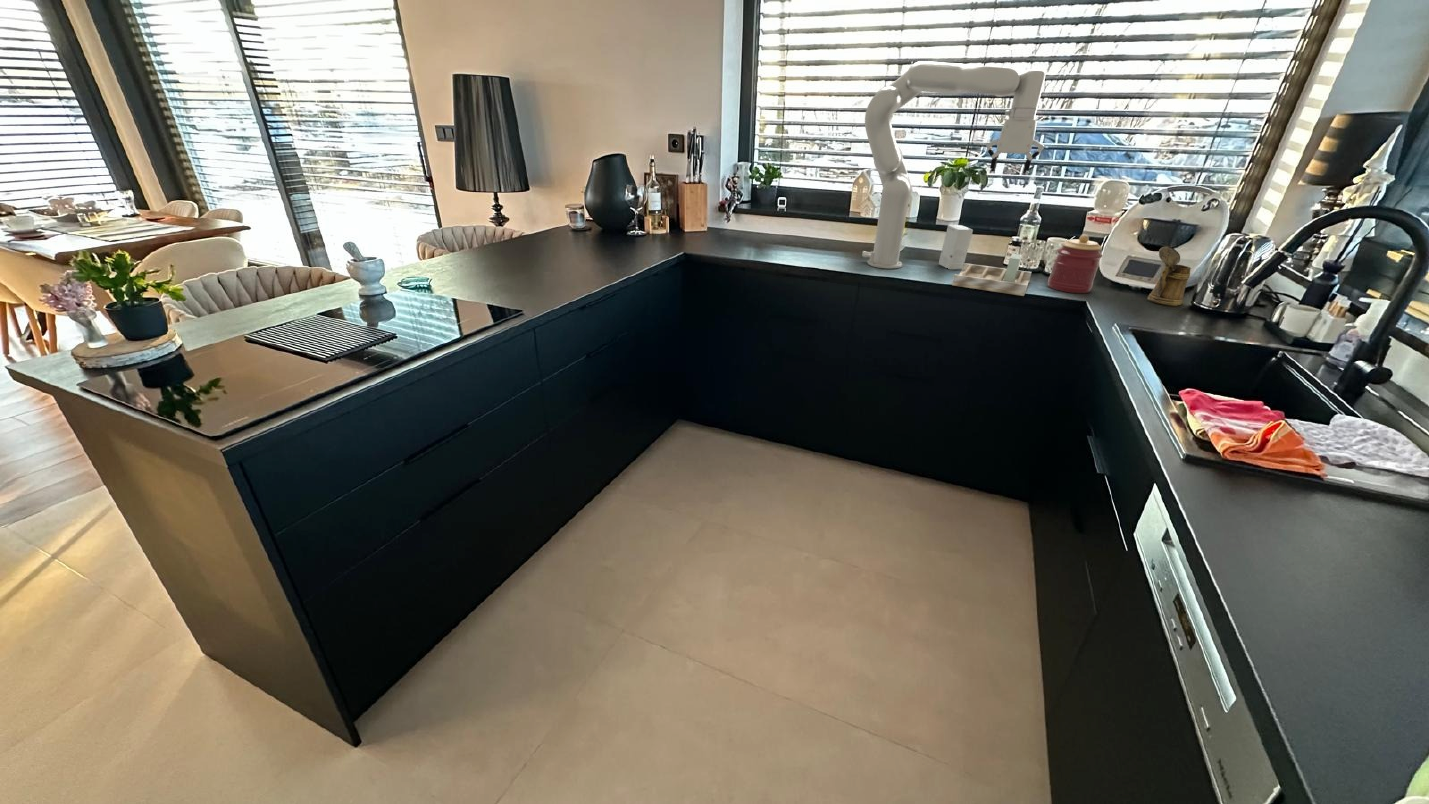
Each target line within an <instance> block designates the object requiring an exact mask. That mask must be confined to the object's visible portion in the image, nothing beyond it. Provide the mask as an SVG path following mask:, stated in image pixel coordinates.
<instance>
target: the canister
mask: <svg viewBox="0 0 1429 804" xmlns="http://www.w3.org/2000/svg"><path fill="white" fill-rule="evenodd" d="M1061 246H1062V247H1060V248H1058V249H1057V250H1056V252H1057V255H1056V258H1054V259H1053V265H1052V268H1051V271H1050V275H1049V277H1048V280H1047V286H1048V288H1051V289H1053V290H1055V291H1059V292H1060V291H1061V292H1065V293H1070V294H1071V293H1073V294H1086V293H1089V292H1090V291H1091V289H1092V288H1093V285H1094V280H1095V277H1096V276H1097V275H1096V274H1097V271H1098V269H1099V267H1100V265H1099V263H1100V262H1099V261H1100V259H1101V258H1103V254H1102V253H1101V252H1100V251H1101V250H1102V249H1103V247H1102V246H1101V245H1099V243H1098V242H1097V241H1093V240H1090V237H1089V235H1088V234H1081V235H1080V236H1079V238H1078V239H1075V238H1074V239H1068V240H1066V241H1064V242H1061Z"/></svg>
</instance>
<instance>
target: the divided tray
mask: <svg viewBox="0 0 1429 804" xmlns="http://www.w3.org/2000/svg"><path fill="white" fill-rule="evenodd" d="M1006 271H1007V268H1004V267H996V266H988V265H982V264H975V263H974V264H972V263H965V262H964V264H963V268H962V269H961V271H960V272H959V273H958V274H955V273H954V274H953V277H952V282H951V286H954V287H960V288H961V287H962V288H967V289H968V288H969V289H976V290H982V291H989V292H995V293H1000V294H1001V293H1002V294H1008V295H1015V296H1020V297H1021V296H1022V297H1024V296H1025V294H1026V292H1027V289H1028V286H1029V283H1030V280H1031V276H1032V271H1026V270H1025V271H1024V270H1019V269H1018V272H1017V276H1016V280H1015V282H1014V283H1013V282H1006V281H1004V278H1005V274H1006Z"/></svg>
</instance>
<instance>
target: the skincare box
mask: <svg viewBox="0 0 1429 804" xmlns="http://www.w3.org/2000/svg"><path fill="white" fill-rule="evenodd" d="M973 231H974V230H973V229H972V228H970V227H967V226H964V225H961V224H948V225H947V229H946V233H945V237H944V240H943V244H942V248H941V252H940V256H939V261H938V265H939V266H941V267H944V268H946V269H947V268H948V270H962V268H963V264H964V263H965V262H966V258H967V255H968V250H969V247H970V242H971V238H972V236H973V233H974V232H973Z"/></svg>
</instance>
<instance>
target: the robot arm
mask: <svg viewBox="0 0 1429 804" xmlns="http://www.w3.org/2000/svg"><path fill="white" fill-rule="evenodd" d="M1045 79H1046V72H1045V71H1044V70H1042V69H1025V70H1022V71H1018V70H1017V69H1015V68H1012V67H1003V66H990V65H977V64H975V65H974V64H968V63H953V62H941V61H939V62H938V61H926V60H925V61H924V60H921V61H920V60H919V61H917V62H914V63H913V64H912V65H910V67H909V68H908V70H907V71H905V72H904V74H902V75H901V76H899V77H898V78H897V79H896V80H894V81H893V82H891V84H889V85H886V86H883V87H882V88H881V89H879V90H878V91H877V92H876V93H875V94H874V95H873V96H872V98H871V100H870V102H869V103H868V105H867V107H866V110H865V115H864V128H865V133H866V136H867V140H868V143H869V148H870V150H871V154H872V155H871V156H872V158H873V164H874V167H875V169H876V170H877V173H878V176H879V180H880V182H881V185H882V190H881V197H880V204H879V205H880V206H879V211H878V212H879V213H878V219H877V226H876V232H875V237H874V238H875V241H874V245H873V251H866V250H862V252H861V256H862V257H863V258H869V259H868V260H867V265H868V266H871V267H875V268H879V269H886V270H887V269H891V270H892V269H899V268H901V267H903V262H902V261H901V260H899V259H900V254H901V250H902V249H901V248H902V241H903V237H904V231H905V225H906V224H905V223H906V219H907V214H908V213H907V212H908V206H909V203H910V196H911V189H912V186H911V185H912V184H911V180H910V177H909V173H908V169H907V167H906V162H905V159H904V156H903V153H902V151H901V148H900V147H899V146H898V144H897V140H896V136H895V134H894V129H893V126H892V121H891V119H892V114H895V112H897V111H898V110H900V109H901V108H902V107H903V106H905V105H907V103H909V102H910V101H912V100H913V99H914V98H916V97H917V96H918V95H919V94H921V93H922V92H925V93H926V92H927V93H937V94H945V95H946V94H947V95H963V94H978V95H979V94H980V95H991V96H995V97H998V98H999V97H1000V98H1001V97H1002V98H1003V97H1008V96H1013V99H1012V103H1011V108H1010V109H1008V110H1005V111H1004V116H1008V119H1005V121H1004V123H1003V125H1002V128H1001V131H1000V135H999V138H997V139H995V140H993V141H990V142H987V143H986V145H985V146H986V150H987V153H988V155H989V156H990V158H991V162H990V163H991V164H990V167H989V169H991V172H995V170H996V167H997V163H998V162H997V161H998V156H1000V155H1001V154H1016V155H1019V154H1020V155H1022V154H1023V155H1024V154H1025V156H1026V161H1025V163H1024V167H1023V172H1022V174H1026V173H1027V172H1029V170H1030V168H1031V162H1032V160H1034V159H1035V158H1036V157H1037V156H1039V155H1040V154H1041V152H1042V151H1043V150H1044V149H1045V145H1044V144H1042V143H1041V142H1039V141H1038V140H1036V139H1035V137H1036V136H1035V135H1036V129H1037V123H1038V122H1037V120H1036V114H1037V111H1038V107H1039V103H1040V99H1041V96H1042V95H1041V94H1042V92H1043V88H1044V83H1045ZM995 145H996V151H995V152H994V151H993V148H992V147H993V146H995ZM1033 146H1035V147H1037V150H1036V151H1035V152H1034V153H1033V154H1032V153H1031V151H1032V148H1033Z"/></svg>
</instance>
